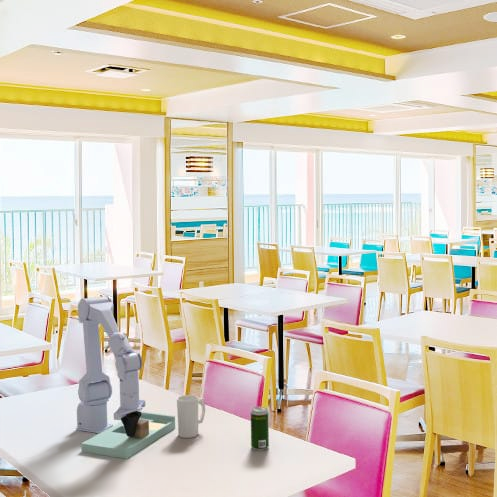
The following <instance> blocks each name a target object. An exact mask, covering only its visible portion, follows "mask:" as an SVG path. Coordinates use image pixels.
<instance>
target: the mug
mask: <svg viewBox="0 0 497 497" xmlns="http://www.w3.org/2000/svg"><path fill="white" fill-rule="evenodd" d="M199 405H200V406H201V414H200V416H199ZM176 408H177V410H176V411H177V412H176V413H177V430H178V436H179V437H180V438H183V439H191V438H195V437H198V436H199V424H202V423H203V422H204V419H205V415H206V405H205V402H204V398H203V397H199V396H197V395H194V394H193V395H192V394H185V395H180V396H177V398H176Z"/></svg>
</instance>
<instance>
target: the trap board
mask: <svg viewBox="0 0 497 497" xmlns="http://www.w3.org/2000/svg"><path fill="white" fill-rule="evenodd" d="M140 412H141V416H140V418H139V419H143V420H149V435H147V436H145V437H144V438H142V439H138V438H131V437H128V436H127V435H126V431H125V428H124V425H123V423H122V421H121V420H120V422H118V423H116V424H114V425H113V426H112V427H110V428H108V429H106V430H105V431H103V432H101V433H97V434H95V435H94V436H93V437H90V438H89V439H87V440H85V441H83V442H81V443H80V444H81V446H80V447H81V453H82V452H83V453H87V454H94V455H101V456H108V457H114V458H120V459H126V460H127V459H129V458H131V457H132V456H133V455H136V454H137V453H138V452H140V451H141V450H143V449H144V448H146V447H148V446H149V445H150V444H152V443H154V442H155V441H156V440H158V439H159V438H162V437H163V436H164V435H167V434H168V433H170V432H171V431H173V430H174V429H176V415H172V414H164V413H163V414H162V413H155V412H147V411H146V412H145V411H142V410H140Z"/></svg>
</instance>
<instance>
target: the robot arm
mask: <svg viewBox="0 0 497 497" xmlns="http://www.w3.org/2000/svg"><path fill="white" fill-rule="evenodd" d="M77 314H78V315H77V316H78V322H79V323H80V324H82V329H83V330H82V331H83V344H84V355H85V356H84V357H85V369H86V373H85V374H84V375H83V376H82V377H81V378H80V379H79V380H78V390H77V394H78V399H79V401H80V402H79V403H78V405H77V408H76V425H77V426H76V428H75V430H76V431H82V432H87V433H88V432H89V433H96V434H100V433H101V432H103V431H105V430H107V429H109V428H110V427H112V426H114V425H113V424H112V423H108V402H109V400H110V398H111V397H112V395H113V387H112V384H111V379H110V376H109V375H107V374H106V373H105V372H103V366H102V364H103V363H102V351H101V350H102V349H101V340H100V338H101V336H100V327H99V326H100V325H101V327H102V328H103V330H104V331H105V333H106V335H107V337H108V338H109V339H108V341H107V344H108V346H109V348H110V350H111V351H112V355H113V356H114V358H115V362H114V363H115V368H116V371H117V372H116V373H117V378H118V379H119V401H120V402H119V403H120V404H119V408H118V409H117V410H116V411H115V412H113V420H116V421H120V422H121V421H122V423H123V425H124V428H125V431H126V435H127V436H128V437H134V436H135V432H136V427H137V423H138V421H139V418H140V416H141V412H142V410H143V408H145V407H146V400H145V399H140V382H139V381H140V379H139V376H140V375H139V373H140V372H139V371H140V370H141V369H142V367H143V359H142V357H141V354H140V352H139V351H137V350H136V349H135V348H133V347H132V346H131V344H130V341H129V340H128V338H127V336H126V334H125V333H122V332H120V328H119V327H118V324H117V322H116V319H115V317H114V302H113V300H112V298H111V296H109V295H104V296H103V295H102V296H97V297H96V296H94V297H88V298H81V299H80V300H79V301H78V304H77ZM140 411H141V412H140Z"/></svg>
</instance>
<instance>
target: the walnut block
mask: <svg viewBox="0 0 497 497" xmlns="http://www.w3.org/2000/svg"><path fill="white" fill-rule="evenodd" d="M147 435H149V420H143V419H139V421H138V423H137V427H136V432H135V436H134V437H131V438H138V439H142V438H144V437H145V436H147Z"/></svg>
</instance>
